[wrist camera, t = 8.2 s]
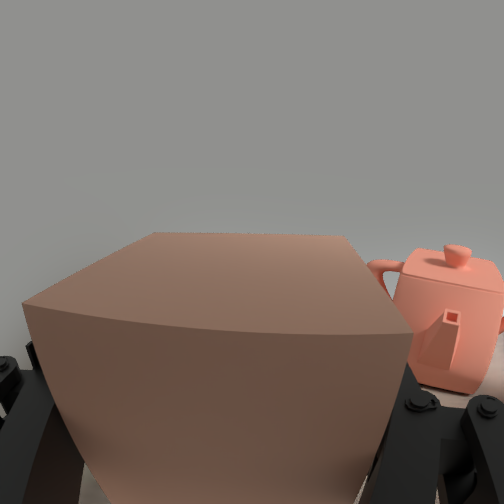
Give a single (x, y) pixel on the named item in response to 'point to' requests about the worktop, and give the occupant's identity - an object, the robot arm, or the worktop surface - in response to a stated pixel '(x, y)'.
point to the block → (224, 367)
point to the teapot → (448, 314)
